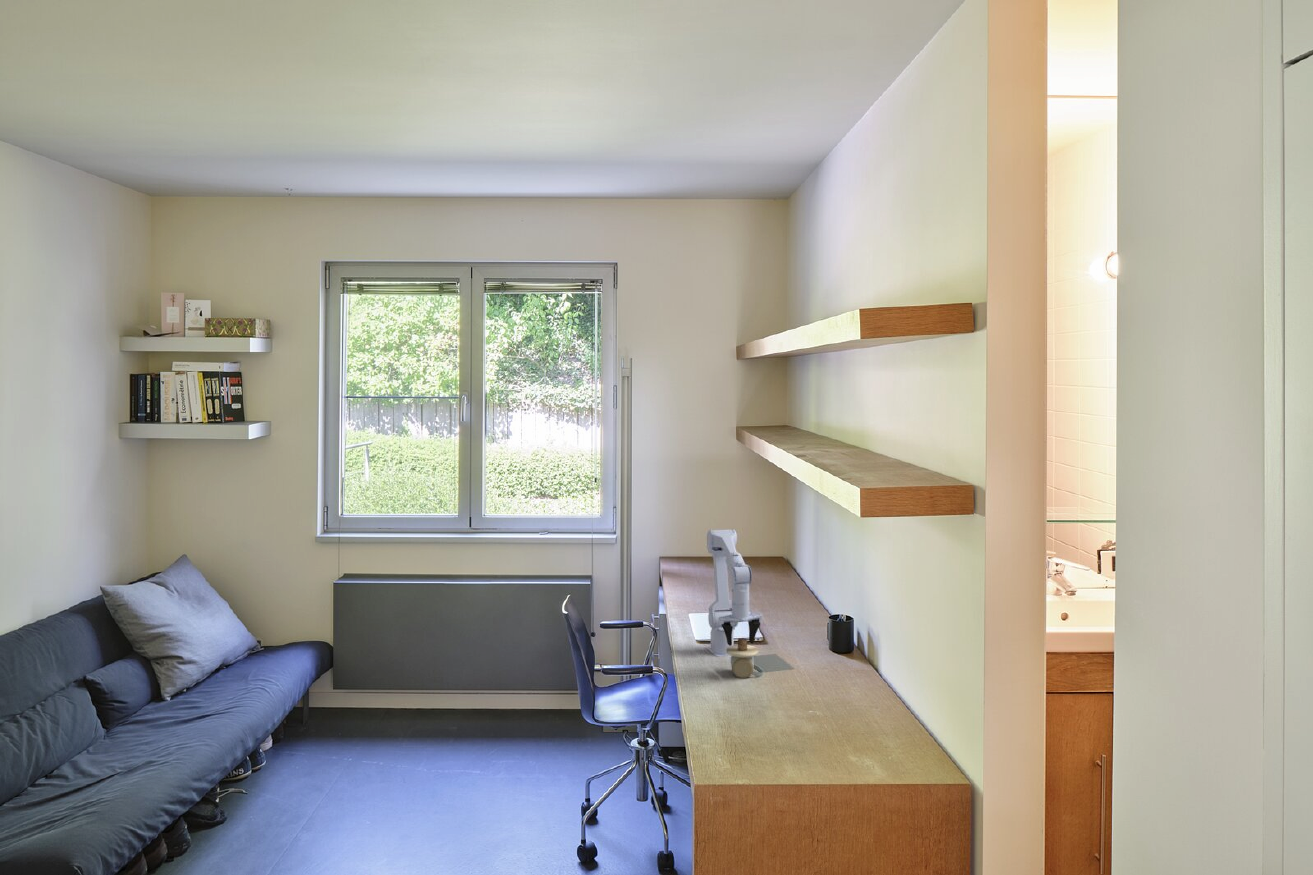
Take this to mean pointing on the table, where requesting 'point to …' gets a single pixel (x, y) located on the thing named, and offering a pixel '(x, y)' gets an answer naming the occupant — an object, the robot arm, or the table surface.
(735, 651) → the lid
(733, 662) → the ceramic mug
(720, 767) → the table surface
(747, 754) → the table surface
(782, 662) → the mat
